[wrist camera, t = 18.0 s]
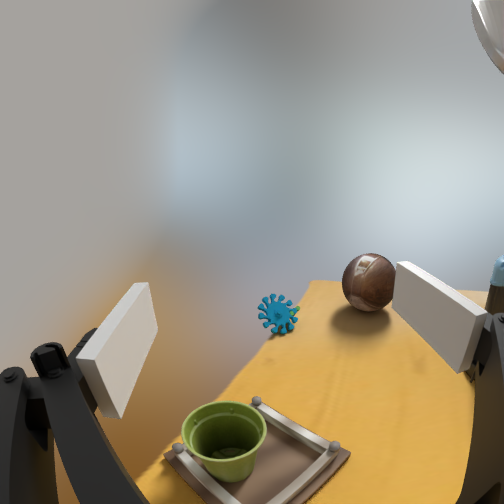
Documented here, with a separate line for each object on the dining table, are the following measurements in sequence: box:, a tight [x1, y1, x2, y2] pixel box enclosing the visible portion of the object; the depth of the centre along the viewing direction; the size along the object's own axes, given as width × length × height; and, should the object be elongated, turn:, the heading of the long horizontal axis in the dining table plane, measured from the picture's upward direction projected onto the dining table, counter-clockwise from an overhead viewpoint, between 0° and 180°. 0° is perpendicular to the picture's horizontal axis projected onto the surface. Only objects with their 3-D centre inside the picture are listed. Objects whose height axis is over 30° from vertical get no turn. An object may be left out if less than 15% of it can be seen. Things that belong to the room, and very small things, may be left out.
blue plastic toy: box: [258, 294, 300, 334], centre depth 67 cm, size 11×6×10 cm
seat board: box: [163, 396, 351, 504], centre depth 30 cm, size 18×18×4 cm
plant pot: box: [181, 401, 267, 483], centre depth 28 cm, size 9×9×9 cm
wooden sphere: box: [342, 253, 396, 311], centre depth 70 cm, size 15×15×15 cm
